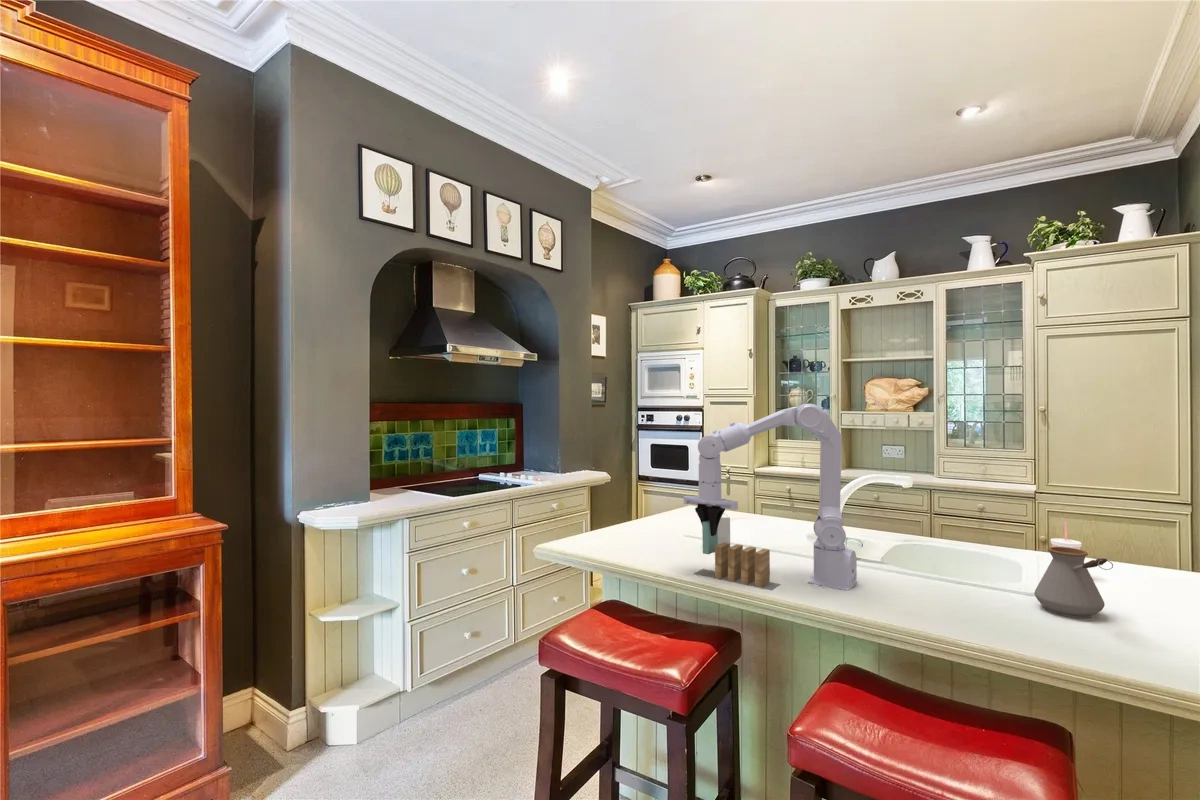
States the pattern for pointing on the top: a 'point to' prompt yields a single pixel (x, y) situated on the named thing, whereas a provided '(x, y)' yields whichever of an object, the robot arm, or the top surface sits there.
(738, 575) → the domino
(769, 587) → the mat
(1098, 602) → the coffee pot
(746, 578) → the domino
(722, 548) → the domino
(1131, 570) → the top surface
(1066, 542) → the beverage cup
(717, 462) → the robot arm
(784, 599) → the top surface
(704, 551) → the teal domino
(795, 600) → the top surface
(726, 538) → the small box
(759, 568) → the domino
